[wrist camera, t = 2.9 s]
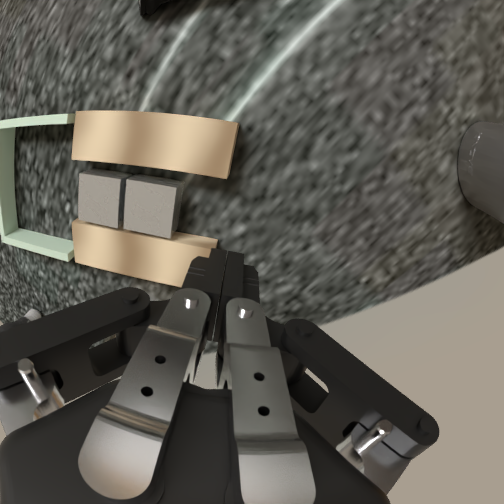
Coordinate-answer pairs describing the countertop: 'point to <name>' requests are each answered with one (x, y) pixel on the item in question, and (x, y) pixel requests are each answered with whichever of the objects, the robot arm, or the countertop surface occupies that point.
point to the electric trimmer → (150, 5)
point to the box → (3, 193)
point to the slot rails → (157, 156)
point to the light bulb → (22, 320)
